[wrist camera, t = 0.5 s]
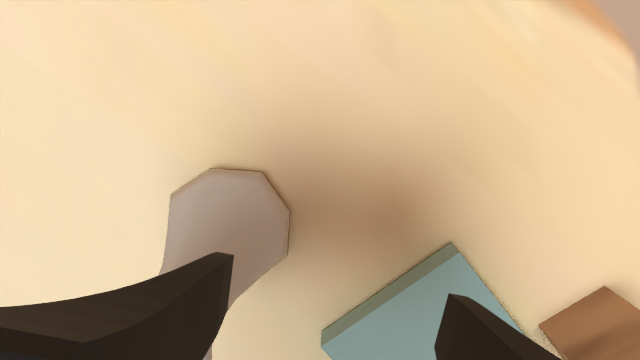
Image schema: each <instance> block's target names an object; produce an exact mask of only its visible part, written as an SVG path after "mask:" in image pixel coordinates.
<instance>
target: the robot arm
mask: <svg viewBox="0 0 640 360" xmlns="http://www.w3.org/2000/svg"><path fill="white" fill-rule="evenodd" d="M233 261H234V255H232V254H227V253H221V252H214V253H211V254H208V255H206V256H204V257H202V258H199V259H197V260H195V261H193V262H190V263H188V264H186V265H184V266H181V267H179V268H177V269H174V270H172V271H169V272H167V273H164V274H162V275H159V276H156V277H154V278H151V279H149V280H146V281H143V282H140V283H137V284H134V285H130V286H127V287H123V288H120V289H116V290H112V291H108V292H104V293H99V294H94V295H89V296H85V297H80V298H75V299H69V300H63V301H56V302H49V303H41V304H33V305H23V306H11V307H0V360H203V359H204V357H205V355H206V354H207V352H208V350H209V348H210V347H211V345H212V343H213V341H214V340H215V338H216V336H217V334H218V331H219V329H220V327H221V324H222V322H223V319H224V317H225V314H226V312H227V309H228V301H229V293H230V285H231V277H232V269H233ZM434 349H435V354H436V359H437V360H561V359H560V358H558V357H556V356H555V355H553V354H552V353H550V352H549V351H547V350H546V349H544V348H543V347H541V346H540V345H538V344H536V343H535V342H533V341H532V340H531V339H529V338H528V337H526V336H525V335H523V334H522V333H520V332H519V331H517V330H516V329H515V328H513V327H512V326H510V325H509V324H508V323H506V322H505V321H503V320H502V319H501V318H499V317H498V316H496V315H495V314H494V313H492V312H491V311H489V310H488V309H487V308H485V307H484V306H482V305H481V304H479V303H478V302H476V301H475V300H473V299H471V298H469V297H467V296H462V295H456V294H451V293H449V294H448V297H447V301H446V305H445V308H444V312H443V316H442V319H441V323H440V327H439V330H438V334H437V338H436V341H435V345H434Z"/></svg>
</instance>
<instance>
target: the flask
mask: <svg viewBox="0 0 640 360" xmlns="http://www.w3.org/2000/svg"><path fill="white" fill-rule="evenodd" d="M289 213H290V211H289V210H288V209H287V207H286V206H285V204H284V203H283V202H282V200H281V199H280V197H279V196H278V195H277V193H276V192H275V190H274V189H273V188H272V186H271V185H270V183H269V182H268V181H267V179H266V178H265V177H264V175H263V174H262V172H254V171H240V170H226V169H212V168H210V169H209V170H207V171H206V172H204V173H203V174H201V175H199V176H198V177H196V178H195V179H193V180H192V181H190V182H189V183H187V184H186V185H184V186H183V187H181V188H180V189H178V190H176V191H175V192H173V193H172V194H171V197H170V205H169V218H168V230H167V237H166V244H165V251H164V258H163V265H162V267H161V270H160V272H159V275H162V274H164V273H167V272H169V271H172V270H174V269H177V268H179V267H181V266H184V265H186V264H188V263H190V262H193V261H195V260H197V259H199V258H202V257H204V256H206V255H208V254H211V253H214V252H221V253H227V254H232V255H234V261H233V269H232V277H231V285H230V293H229V301H228V309H229V308H230V307H231V305H232V304H233V302H234V301H235V300H236V299H237V298H238V297H239V296H240V295H241V294H242V293H243V292H244V291H246V290H247V289H248V288H249V287H250V286H251V285H252V284H253V283H254V282H255V281H256V280H258V279H259V278H260V277H261V276H262V275H263V274H265V273H266V272H267V271H268V270H270V269H271V268H272V267H273V266H275V265H276V264H277V263H278V262H280V261H281V260H282V259H283V258H284V257H285V256H286V255H287V249H288V231H289ZM159 275H158V276H159ZM228 309H227V311H228ZM203 360H212V345H211V347H210V348H209V350H208V352H207V354H206V355H205V357H204V359H203Z"/></svg>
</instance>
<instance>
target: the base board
mask: <svg viewBox="0 0 640 360" xmlns="http://www.w3.org/2000/svg"><path fill="white" fill-rule="evenodd" d="M449 293H451V294H456V295H462V296H467V297H469V298H471V299H473V300H475V301H476V302H478V303H479V304H481V305H482V306H484V307H485V308H487V309H488V310H489V311H491V312H492V313H494V314H495V315H496V316H498V317H499V318H501V319H502V320H503V321H505V322H506V323H508V324H509V325H510V326H512V327H513V328H515V329H516V330H517V331H519V332H520V333H522V331H521V330H520V329H519V328H518V326H517V325H516V324H515V322H514V321H513V320H512V319H511V317H510V316H509V315H508V313H507V312H506V311H505V310H504V308H503V307H502V306H501V305H500V303H499V302H498V301H497V299H496V298H495V297H494V296H493V294H492V293H491V292H490V290H489V289H488V288H487V287H486V285H485V284H484V283H483V282H482V280H481V279H480V278H479V276H478V275H477V274H476V273H475V271H474V270H473V269H472V267H471V266H470V265H469V264H468V262H467V261H466V260H465V259H464V257H463V256H462V255H461V253H460V252H459V251H458V250H457V248H456V247H455V246H454V245H453V244H452V242H451V243H449V244H448V245H446V246H445V247H443V248H442V249H440V250H439V251H438V252H436V253H435V254H433V255H432V256H430V257H429V258H427V259H426V260H424V261H423V262H422V263H420V264H419V265H417V266H416V267H414V268H413V269H411V270H410V271H409V272H407V273H406V274H404V275H403V276H401V277H400V278H398V279H397V280H395V281H394V282H393V283H391V284H390V285H388V286H387V287H385V288H384V289H382V290H381V291H380V292H378V293H377V294H375V295H374V296H372V297H371V298H369V299H368V300H366V301H365V302H364V303H362V304H361V305H359V306H358V307H356V308H355V309H353V310H352V311H350V312H349V313H348V314H346V315H345V316H343V317H342V318H340V319H339V320H337V321H336V322H335V323H333V324H332V325H330V326H329V327H327V328H326V329H324V330H323V331H322V337H321V348H322V349H323V350H324V351H325V352H326V353H327V354H328V355H329V356H330V358H331V359H332V360H437V359H436V354H435V349H434V345H435V341H436V338H437V334H438V330H439V327H440V323H441V319H442V316H443V312H444V308H445V305H446V301H447V297H448V294H449ZM522 334H523V333H522ZM523 335H524V334H523Z"/></svg>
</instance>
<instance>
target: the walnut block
mask: <svg viewBox="0 0 640 360" xmlns="http://www.w3.org/2000/svg"><path fill="white" fill-rule="evenodd" d="M538 326H539V327H540V328H541V330H542V331H543V332H544V334H545V335H546V337H547V338H548V339H549V341H550V342H551V343H552V345H553V346H554V347H555V349H556V350H557V351H558V353H559V354H560V355H561V357H562V358H563V359H564V360H640V310H639V309H637V308H636V307H634V306H633V305H631V304H630V303H628V302H627V301H625V300H624V299H623V298H621V297H620V296H618V295H617V294H615V293H614V292H612V291H611V290H609V289H608V288H607V287H605V286H603V287H602V288H600V289H598V290H596V291H595V292H593V293H591V294H590V295H588V296H586V297H585V298H583V299H581V300H580V301H578V302H576V303H574V304H573V305H571V306H569V307H568V308H566V309H564V310H563V311H561V312H559V313H558V314H556V315H554V316H553V317H551V318H549V319H547V320H546V321H544V322H542V323H541V324H539V325H538Z"/></svg>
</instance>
